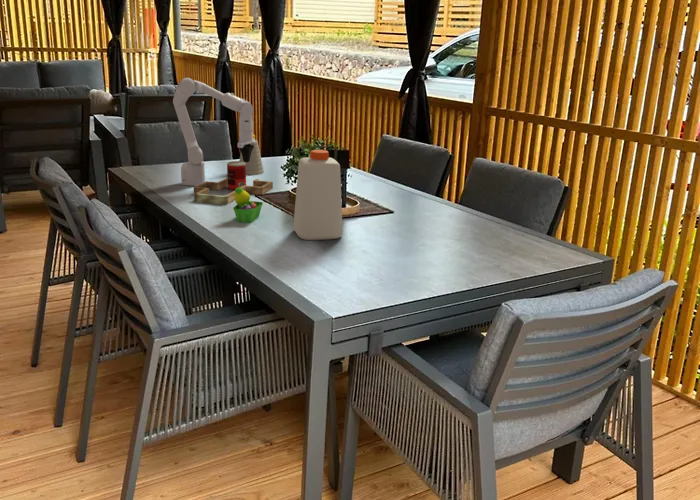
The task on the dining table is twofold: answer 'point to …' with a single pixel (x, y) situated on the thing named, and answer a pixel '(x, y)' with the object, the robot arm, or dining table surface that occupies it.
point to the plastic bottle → (318, 198)
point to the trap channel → (203, 194)
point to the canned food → (236, 174)
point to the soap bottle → (254, 161)
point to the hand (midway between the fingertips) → (246, 161)
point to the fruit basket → (246, 206)
